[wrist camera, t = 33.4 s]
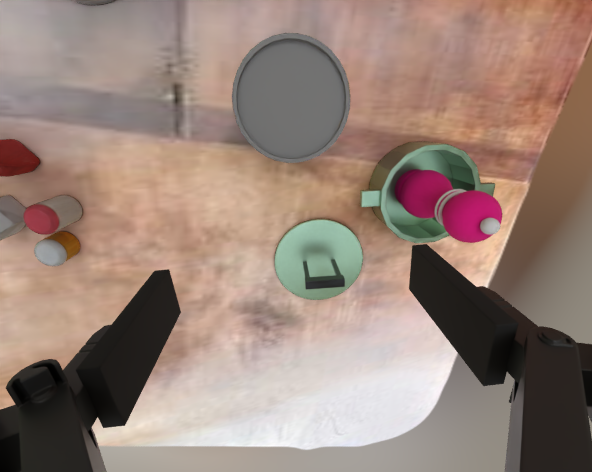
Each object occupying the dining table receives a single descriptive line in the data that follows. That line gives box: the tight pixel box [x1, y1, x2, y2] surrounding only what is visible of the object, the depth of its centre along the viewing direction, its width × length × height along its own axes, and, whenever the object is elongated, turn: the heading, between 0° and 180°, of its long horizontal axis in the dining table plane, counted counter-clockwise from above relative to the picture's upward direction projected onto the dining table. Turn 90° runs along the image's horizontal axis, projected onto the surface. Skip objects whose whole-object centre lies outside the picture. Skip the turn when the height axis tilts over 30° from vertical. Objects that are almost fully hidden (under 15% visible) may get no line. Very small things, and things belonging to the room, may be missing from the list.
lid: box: [275, 219, 363, 300], centre depth 49 cm, size 16×16×9 cm
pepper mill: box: [395, 169, 502, 243], centre depth 40 cm, size 7×7×20 cm
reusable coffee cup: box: [232, 33, 350, 163], centre depth 37 cm, size 13×12×15 cm
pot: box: [360, 141, 495, 243], centre depth 46 cm, size 15×20×6 cm
